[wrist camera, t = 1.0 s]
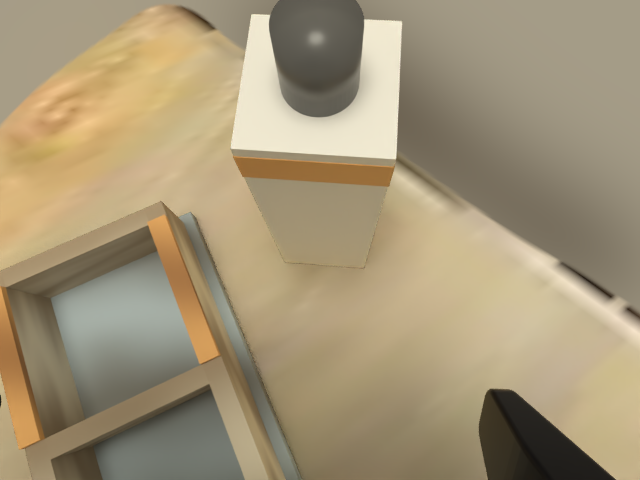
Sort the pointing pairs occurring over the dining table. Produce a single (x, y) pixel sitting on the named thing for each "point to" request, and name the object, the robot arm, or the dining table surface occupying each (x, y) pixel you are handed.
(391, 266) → the dining table surface
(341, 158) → the bottle
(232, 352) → the rack
